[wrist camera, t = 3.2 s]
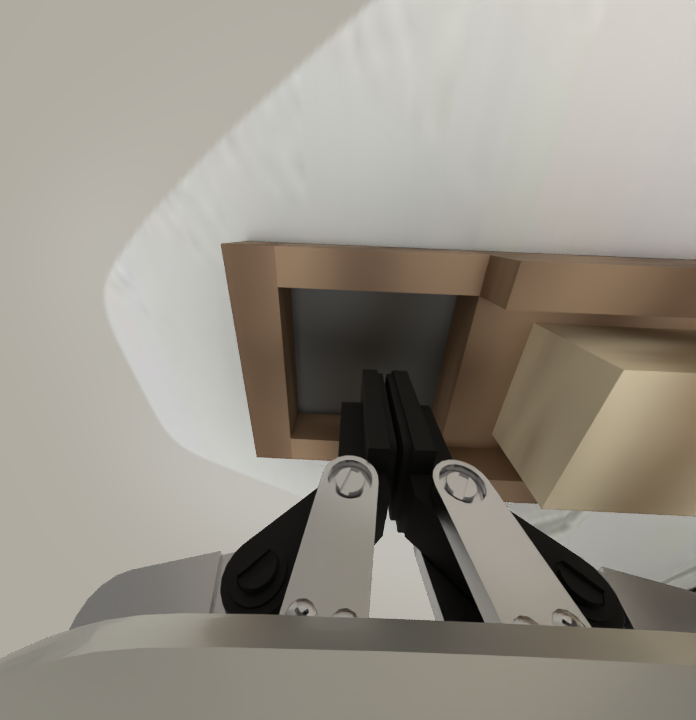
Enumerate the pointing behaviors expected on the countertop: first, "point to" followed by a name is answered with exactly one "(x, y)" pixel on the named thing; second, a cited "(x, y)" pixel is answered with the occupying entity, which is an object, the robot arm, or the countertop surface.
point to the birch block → (604, 419)
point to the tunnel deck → (420, 332)
